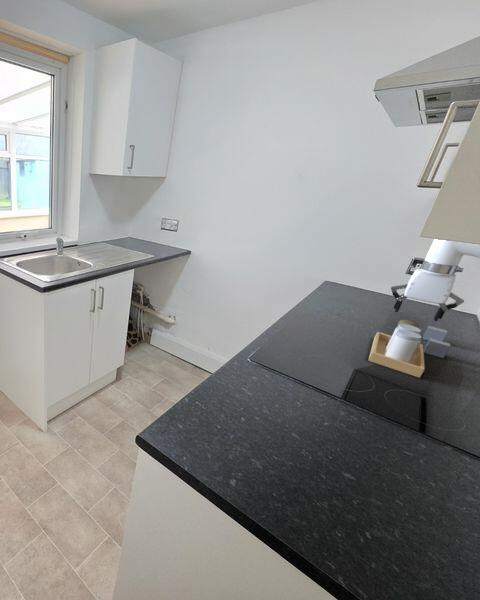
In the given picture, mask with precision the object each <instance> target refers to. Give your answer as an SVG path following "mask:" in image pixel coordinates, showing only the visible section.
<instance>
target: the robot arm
mask: <svg viewBox="0 0 480 600" xmlns="http://www.w3.org/2000/svg"><path fill="white" fill-rule="evenodd" d="M463 256H469V257H475V258H479V259H480V245H478V244H470V243H462V242H453V241H446V240H438V239H433V241H432V243H431V244H430V248H429V250H428V251H427V253H426V255H425V258H424V260H423V262H422V264H421V266H420V267H419V268H416V269H415V270H414V272H413V273H412V275H411V277H410V278H409V280H408V282H407V283H405V284H404V283H403V284H396V285H392V286H390V291H391V295H392V296H393V297H394V298H395V300H396V301H395V303H394V306H393V309H394V312H395V313H398V312H400V311H399V310H400V309H401V306H402V305H403V300H406V299H412V300H417V301H422V302H426V303H431V304H435V305H436V304H437V305H438V306H439V308H437V311H436V313H435V314H434V317H433V321H434V322H438V320H442V318H443V316H444V314H445V313H446V312H447V311H450V310H452V309H456V308H457V307H459V306H460V305H462V304H464V303H465V299H463V298H462V297H460V296H459V295H457V294H455V293H454V292H452V291H453V288H454V285H455V282H456V278H457V274H455V273H463V271H464V268H463V267H460V266H459V265H460V263H461V261H462V259H463ZM403 289H404V291H403V294H399V292H398V290H403ZM449 298H450V299H452V300H453V301H454V302H452V303H448V304H447V301H448V300H449Z"/></svg>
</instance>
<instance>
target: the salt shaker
mask: <svg viewBox="0 0 480 600" xmlns="http://www.w3.org/2000/svg"><path fill="white" fill-rule="evenodd" d="M422 339H423V336H422V335H421V334H420V335H419V334H417V333H414V332H411V331H408V330H398V331H397V333H395V335H394V337H393V339H392V341H391V343H390V345H389V347H388V349H387V351H386V353H385V355H384V356H387V357H390V358H393V359H397V360H400V361H403V362H406V363H409V361H410V359H411V358H412V356H413V354H414V352H415V350H416V349H417V347H418V345H419V344H421V340H422Z"/></svg>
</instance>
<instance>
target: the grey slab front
mask: <svg viewBox="0 0 480 600" xmlns="http://www.w3.org/2000/svg"><path fill="white" fill-rule="evenodd" d="M450 348H451V343H449V342H447V341H438V340H435V339H431V338H430V339H429V341H428V340H427V343H426V344H425V346H424V347H423V351H424V354H427V355H431V356H434V357H437V358H441V359H444V358H445V356H446V355H447V353H448V352H449V350H450Z"/></svg>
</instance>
